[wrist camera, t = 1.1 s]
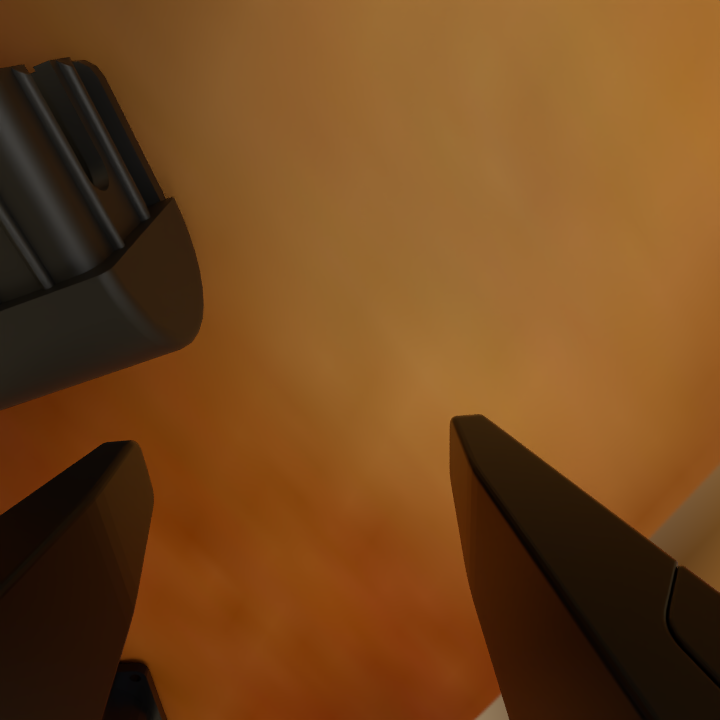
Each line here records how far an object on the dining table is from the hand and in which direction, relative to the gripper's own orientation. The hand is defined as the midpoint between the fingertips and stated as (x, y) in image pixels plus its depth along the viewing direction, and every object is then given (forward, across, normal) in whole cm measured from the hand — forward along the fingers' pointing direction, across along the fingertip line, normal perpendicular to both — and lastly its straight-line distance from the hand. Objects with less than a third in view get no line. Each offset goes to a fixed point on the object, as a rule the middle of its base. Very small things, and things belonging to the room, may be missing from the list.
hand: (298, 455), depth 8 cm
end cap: (+12, +9, 0) cm, 15 cm away
